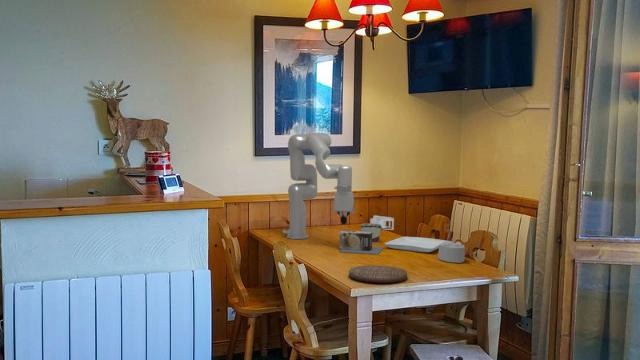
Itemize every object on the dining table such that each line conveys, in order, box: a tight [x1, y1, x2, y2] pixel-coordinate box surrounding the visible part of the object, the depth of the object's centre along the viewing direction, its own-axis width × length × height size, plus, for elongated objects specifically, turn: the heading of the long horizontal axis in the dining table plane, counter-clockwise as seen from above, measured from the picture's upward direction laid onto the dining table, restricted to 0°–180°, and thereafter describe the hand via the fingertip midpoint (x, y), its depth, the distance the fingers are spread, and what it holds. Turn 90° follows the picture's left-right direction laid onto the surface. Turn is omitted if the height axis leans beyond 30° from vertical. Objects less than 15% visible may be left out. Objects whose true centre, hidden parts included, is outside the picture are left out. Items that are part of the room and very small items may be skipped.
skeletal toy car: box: [369, 215, 395, 231], centre depth 399 cm, size 20×11×7 cm, turn 19°
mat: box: [338, 245, 385, 256], centre depth 323 cm, size 20×20×1 cm
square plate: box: [384, 236, 449, 253], centre depth 333 cm, size 27×27×4 cm
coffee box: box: [339, 229, 373, 251], centre depth 323 cm, size 9×6×16 cm
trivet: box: [348, 264, 408, 284], centre depth 266 cm, size 25×25×2 cm
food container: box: [359, 222, 383, 244], centre depth 349 cm, size 12×6×10 cm, turn 84°
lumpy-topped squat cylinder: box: [438, 240, 466, 264], centre depth 301 cm, size 10×13×9 cm
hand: (343, 224), depth 324 cm, fingers closed
